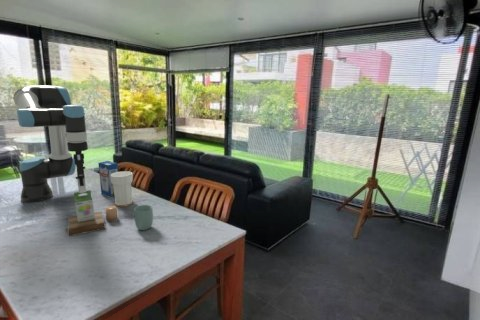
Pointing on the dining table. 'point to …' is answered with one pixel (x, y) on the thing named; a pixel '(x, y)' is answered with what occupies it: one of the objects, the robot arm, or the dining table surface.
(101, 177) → the milk carton
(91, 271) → the dining table surface
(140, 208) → the cup
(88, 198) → the ink box
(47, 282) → the dining table surface
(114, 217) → the wooden peg
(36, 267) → the dining table surface
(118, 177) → the cup
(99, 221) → the podium
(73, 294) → the dining table surface
